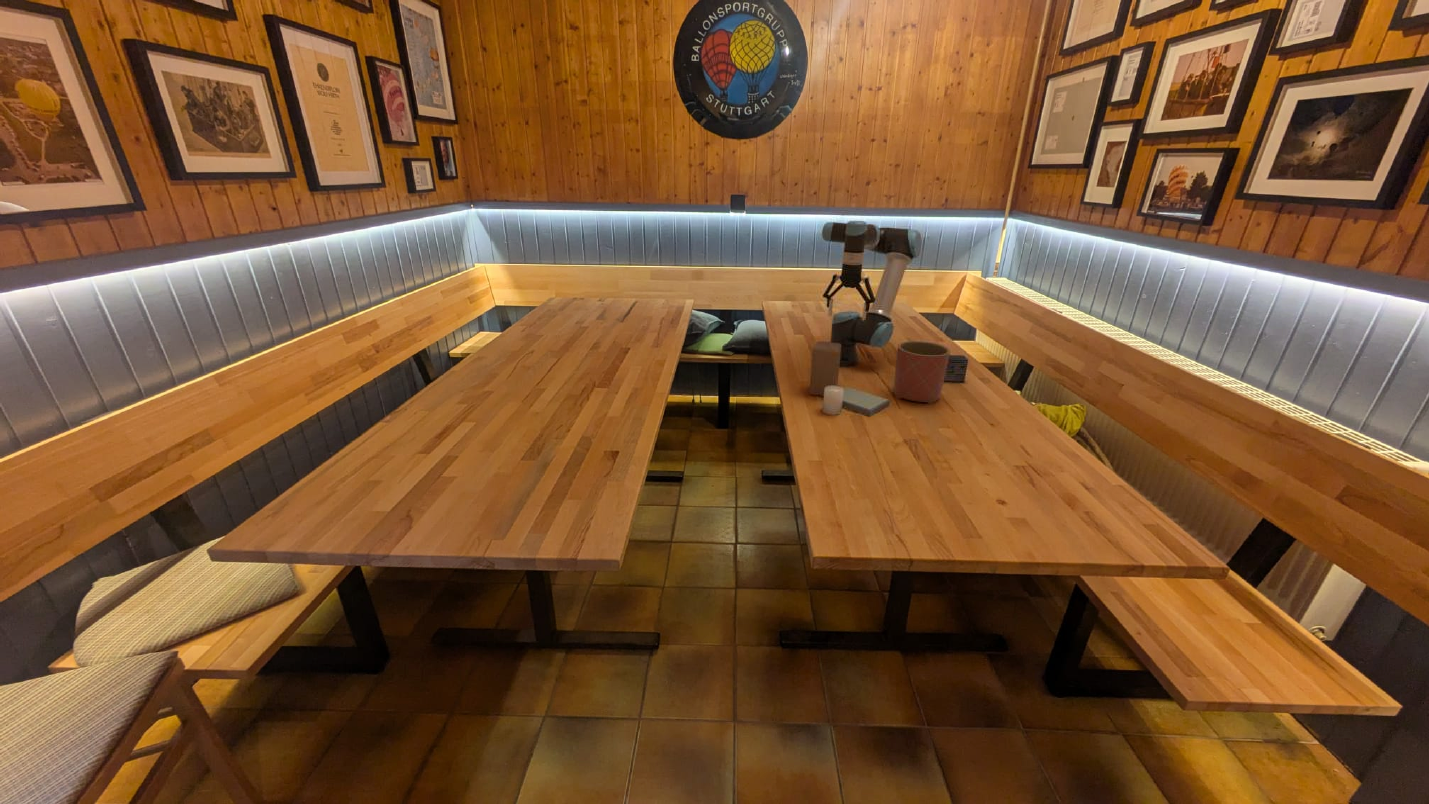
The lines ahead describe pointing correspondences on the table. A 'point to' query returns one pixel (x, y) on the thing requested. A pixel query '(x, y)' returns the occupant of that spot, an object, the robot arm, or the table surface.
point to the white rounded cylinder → (833, 399)
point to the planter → (920, 370)
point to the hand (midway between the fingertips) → (846, 317)
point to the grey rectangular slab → (863, 402)
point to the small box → (956, 369)
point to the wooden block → (824, 367)
